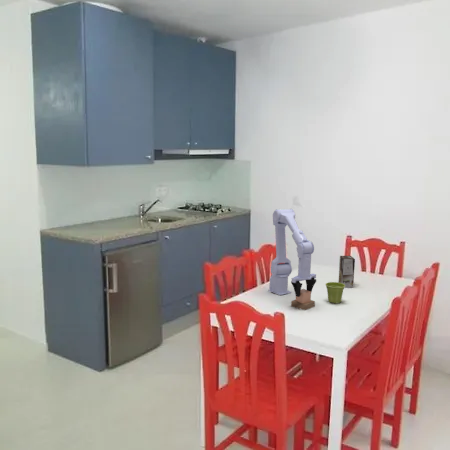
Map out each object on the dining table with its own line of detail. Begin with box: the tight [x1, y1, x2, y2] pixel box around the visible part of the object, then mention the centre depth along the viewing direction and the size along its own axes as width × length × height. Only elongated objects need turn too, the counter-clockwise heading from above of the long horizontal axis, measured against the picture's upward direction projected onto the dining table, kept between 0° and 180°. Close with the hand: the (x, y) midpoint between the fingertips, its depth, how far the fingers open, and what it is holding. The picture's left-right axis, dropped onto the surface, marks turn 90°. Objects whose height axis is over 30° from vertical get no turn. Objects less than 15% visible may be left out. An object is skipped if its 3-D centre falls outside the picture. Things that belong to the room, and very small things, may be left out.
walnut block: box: [290, 298, 316, 311], centre depth 219 cm, size 8×8×3 cm
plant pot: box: [325, 281, 345, 304], centre depth 226 cm, size 9×9×9 cm
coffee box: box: [338, 255, 356, 289], centre depth 253 cm, size 9×6×16 cm
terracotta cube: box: [294, 288, 312, 303], centre depth 218 cm, size 5×5×5 cm
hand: (303, 294), depth 219 cm, fingers open, 7 cm apart
